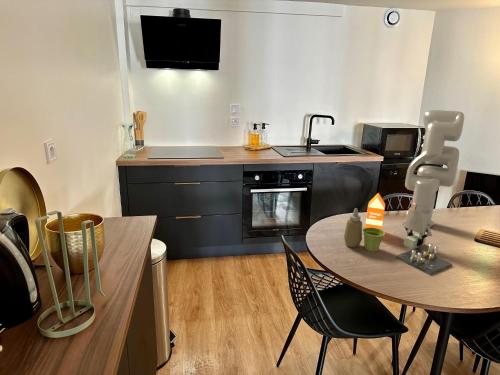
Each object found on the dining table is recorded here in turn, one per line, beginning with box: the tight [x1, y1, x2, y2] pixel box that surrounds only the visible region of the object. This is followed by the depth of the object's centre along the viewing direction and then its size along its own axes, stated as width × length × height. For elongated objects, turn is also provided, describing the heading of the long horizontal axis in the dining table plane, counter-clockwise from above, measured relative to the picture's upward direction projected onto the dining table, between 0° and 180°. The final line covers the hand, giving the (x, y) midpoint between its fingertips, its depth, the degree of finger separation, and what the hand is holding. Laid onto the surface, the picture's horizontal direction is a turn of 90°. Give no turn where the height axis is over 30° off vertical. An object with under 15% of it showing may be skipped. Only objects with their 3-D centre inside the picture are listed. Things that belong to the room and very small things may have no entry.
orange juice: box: [364, 192, 386, 230], centre depth 172 cm, size 8×9×20 cm
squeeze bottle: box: [343, 207, 363, 248], centre depth 158 cm, size 8×8×18 cm
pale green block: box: [403, 233, 427, 250], centre depth 162 cm, size 4×9×4 cm, turn 120°
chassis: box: [395, 243, 453, 276], centre depth 146 cm, size 16×15×6 cm
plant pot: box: [362, 227, 386, 252], centre depth 156 cm, size 9×9×9 cm
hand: (414, 243), depth 162 cm, fingers closed on pale green block, 4 cm apart
